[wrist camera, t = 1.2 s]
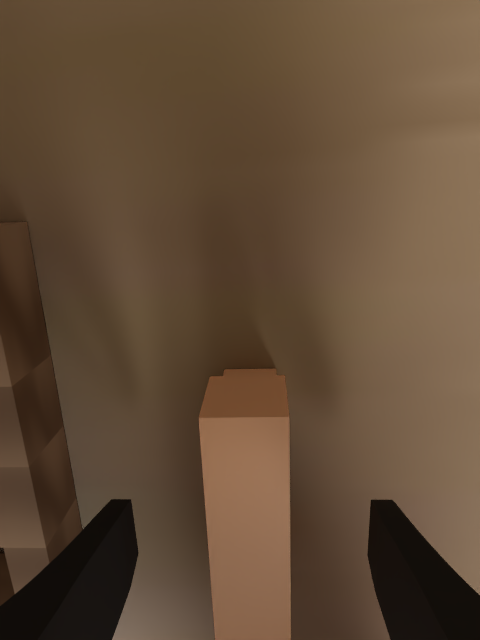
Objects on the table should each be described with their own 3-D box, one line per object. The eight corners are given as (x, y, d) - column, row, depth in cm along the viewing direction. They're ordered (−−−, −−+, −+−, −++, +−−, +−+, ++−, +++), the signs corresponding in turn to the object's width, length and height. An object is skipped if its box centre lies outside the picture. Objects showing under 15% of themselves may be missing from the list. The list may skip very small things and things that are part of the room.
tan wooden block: (284, 558, 18) (291, 682, 13) (229, 557, 18) (218, 681, 13) (281, 348, 15) (289, 417, 10) (217, 349, 15) (198, 417, 11)
